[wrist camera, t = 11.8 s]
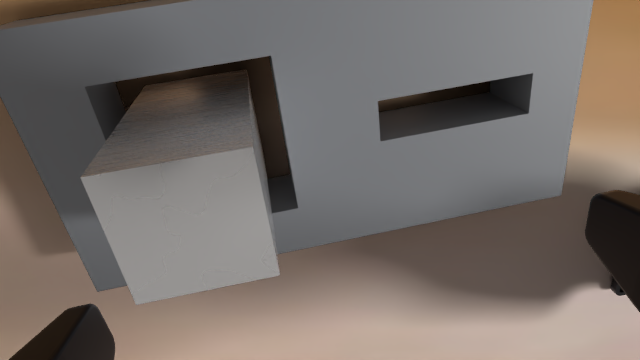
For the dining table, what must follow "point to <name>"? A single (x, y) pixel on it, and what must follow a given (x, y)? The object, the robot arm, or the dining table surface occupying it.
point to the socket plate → (319, 103)
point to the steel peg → (186, 189)
